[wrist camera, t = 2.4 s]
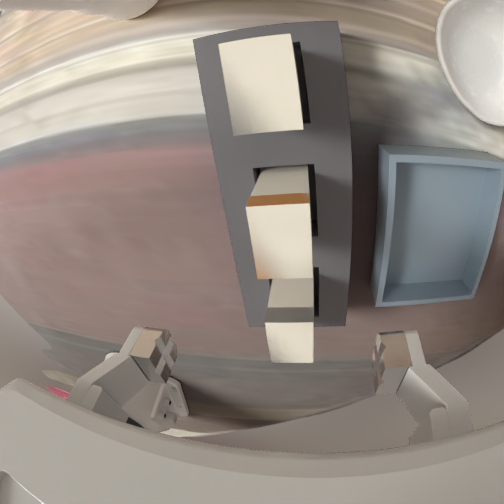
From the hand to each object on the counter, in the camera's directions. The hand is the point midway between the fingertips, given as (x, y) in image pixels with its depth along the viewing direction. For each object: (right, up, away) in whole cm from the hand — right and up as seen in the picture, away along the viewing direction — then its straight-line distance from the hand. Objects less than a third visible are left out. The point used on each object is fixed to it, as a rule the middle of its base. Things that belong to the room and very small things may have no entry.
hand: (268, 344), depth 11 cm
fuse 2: (+4, +1, +18) cm, 19 cm away
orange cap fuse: (+3, +9, +14) cm, 17 cm away
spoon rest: (+23, +24, +2) cm, 34 cm away
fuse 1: (+1, +16, +9) cm, 19 cm away
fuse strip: (+3, +9, +15) cm, 18 cm away
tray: (+17, +6, +14) cm, 23 cm away
